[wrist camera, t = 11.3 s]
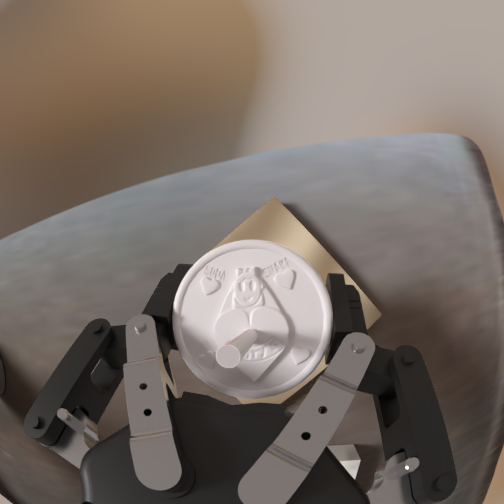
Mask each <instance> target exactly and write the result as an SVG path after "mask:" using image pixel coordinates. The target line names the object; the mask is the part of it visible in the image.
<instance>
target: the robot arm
mask: <svg viewBox="0 0 504 504" xmlns="http://www.w3.org/2000/svg"><path fill="white" fill-rule="evenodd" d="M192 266H193V265H191V264H178V265H177V267H176V269H175V271H174V272H173V273H168V274H167V275H165V276H164V277H163V278H162V279H161V280H160V282H159V284H158V285H157V288H156V289H155V291H154V294H152V296H151V298H150V300H149V302H148V303H147V305H146V307H145V309H144V311H143V313H142V314H141V315H137V316H135V317H133V318H131V319H130V320H129V321H128V323H127V324H126V325H120V326H111V325H110V323H109V322H108V321H107V320H106V319H101V318H100V319H95V320H93V321H91V322H90V323H89V324H88V325H87V326H86V327H85V329H84V330H83V331H82V333H81V334H80V335H79V337H78V338H77V339H76V341H75V342H74V344H73V345H72V346H71V348H70V349H69V351H68V352H67V353H66V355H65V356H64V358H63V359H62V360H61V362H60V363H59V365H58V366H57V368H56V369H55V371H54V372H53V374H52V375H51V377H50V378H49V380H48V381H47V383H46V384H45V386H44V387H43V389H42V390H41V392H40V394H39V395H38V397H37V398H36V400H35V402H34V403H33V405H32V407H31V408H30V410H29V411H28V413H27V415H26V417H25V420H24V427H25V431H26V432H27V434H28V435H29V436H30V437H32V438H33V439H35V440H37V441H38V442H39V443H40V444H42V445H43V446H45V447H46V448H48V449H50V450H51V451H53V452H55V453H56V454H59V455H61V456H62V457H63V458H65V459H66V460H67V461H69V462H70V463H72V464H73V465H75V466H76V467H77V468H79V469H80V477H81V482H82V490H83V499H82V504H431V503H435V502H439V501H442V500H444V499H446V498H448V497H449V496H450V495H451V494H452V492H453V491H454V489H455V487H456V483H457V475H456V470H455V465H454V460H453V456H452V451H451V447H450V443H449V439H448V435H447V431H446V427H445V424H444V420H443V417H442V413H441V410H440V407H439V404H438V400H437V397H436V394H435V391H434V388H433V385H432V382H431V379H430V377H429V374H428V371H427V368H426V366H425V363H424V360H423V358H422V355H421V354H420V352H419V351H418V350H417V349H415V348H414V347H411V346H407V345H405V346H400V347H398V348H397V349H396V350H395V351H391V350H387V349H384V348H381V347H379V346H377V345H375V344H374V341H373V340H372V339H371V338H370V337H369V336H368V333H367V328H366V323H365V318H364V313H363V309H362V303H361V299H360V294H359V292H358V290H357V289H356V288H355V286H354V285H346V284H345V279H344V274H340V273H328V274H327V279H326V284H325V286H326V288H327V291H328V294H329V296H330V300H331V304H332V311H333V329H332V335H331V339H330V343H329V346H328V348H327V351H326V353H325V365H328V367H327V369H326V370H325V372H324V373H323V374H321V375H320V377H319V378H318V380H317V381H316V383H315V384H314V386H313V387H312V389H311V390H310V392H309V393H308V395H307V396H306V398H305V399H304V401H303V402H302V404H301V405H300V407H299V408H298V410H297V411H296V412H295V414H293V413H291V412H288V411H285V404H274V403H261V402H258V403H250V404H241V405H230V404H227V403H224V402H222V401H219V400H217V399H214V398H212V397H209V396H207V395H201V394H195V393H190V392H185V391H184V392H183V395H182V398H180V397H179V394H178V391H177V388H176V384H175V380H174V375H173V371H172V366H171V362H170V357H169V353H170V350H171V349H174V350H178V347H177V344H176V341H175V338H174V333H173V326H172V312H173V304H174V300H175V296H176V293H177V290H178V288H179V286H180V284H181V282H182V280H183V278H184V277H185V275H186V273H187V272H188V271H189V269H190V268H191V267H192ZM100 359H101V361H100V362H99V364H98V365H97V367H96V369H95V370H94V372H93V373H92V375H91V372H92V371H93V369H94V367H95V366H96V364H97V363H98V361H99V360H100ZM123 377H124V383H125V393H126V402H127V410H128V417H129V424H128V425H127V426H125V427H124V428H122V429H121V430H119V431H118V432H116V433H114V434H113V435H111V436H110V437H108V438H106V439H105V440H103V441H102V442H100V443H98V444H97V445H96V443H97V442H98V440H99V436H98V427H97V423H98V421H99V420H100V418H101V416H102V414H103V412H104V410H105V409H106V407H107V405H108V403H109V401H110V400H111V398H112V396H113V394H114V392H115V391H116V389H117V387H118V385H119V384H120V382H121V380H122V378H123ZM4 389H5V374H4V368H3V364H2V361H1V358H0V394H2V393H3V392H4ZM357 390H358V391H362V392H365V393H369V394H373V398H374V402H375V407H376V412H377V417H378V422H379V427H380V432H381V438H382V443H383V449H384V455H385V461H384V462H383V463H381V464H380V465H379V466H378V468H377V469H376V471H375V475H374V484H373V486H372V488H371V489H370V490H369V491H368V492H367V493H366V492H365V491H364V489H363V488H362V487H361V486H360V485H359V484H358V483H357V481H356V480H355V479H354V478H353V477H352V476H351V475H350V473H349V472H348V471H347V470H346V469H345V467H344V466H343V465H342V464H341V463H340V462H339V460H338V459H337V458H336V457H335V455H334V454H333V453H332V452H331V451H330V449H329V448H328V447H327V446H326V445H327V444H328V442H329V440H330V439H331V437H332V435H333V434H334V432H335V430H336V429H337V427H338V425H339V423H340V422H341V420H342V418H343V416H344V415H345V413H346V411H347V409H348V407H349V405H350V403H351V401H352V400H353V398H354V396H355V394H356V391H357Z"/></svg>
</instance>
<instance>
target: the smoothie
mask: <svg viewBox="0 0 504 504" xmlns="http://www.w3.org/2000/svg"><path fill="white" fill-rule="evenodd" d="M172 326H173V333H174V338H175V341H176V344H177V347H178V350H179V352H180V354H181V356H182V358H183V360H184V361H185V363H186V364H187V366H188V367H189V368H190V369H191V371H192V372H193V373H194V374H195V375H196V376H197V377H198V378H199V379H200V380H202V381H203V382H204V383H206V384H207V385H209V386H210V387H212V388H213V389H215V390H217V391H219V392H222V393H224V394H227V395H230V396H234V397H239V398H246V399H260V398H267V397H272V396H276V395H279V394H282V393H284V392H287V391H289V390H291V389H292V388H294V387H296V386H297V385H299V384H300V383H302V382H303V381H304V380H305V379H307V378H308V377H309V376H310V375H311V374H312V373H313V371H314V370H315V369H316V368H317V367H318V365H319V364H320V362H321V361H322V359H323V357H324V355H325V353H326V351H327V348H328V346H329V343H330V339H331V335H332V329H333V311H332V304H331V300H330V296H329V294H328V291H327V288H326V286H325V284H324V282H323V280H322V279H321V277H320V275H319V274H318V273H317V271H316V270H315V269H314V268H313V267H312V265H311V264H310V263H309V262H308V261H306V260H305V259H304V258H303V257H302V256H300V255H299V254H298V253H296V252H294V251H293V250H291V249H289V248H287V247H285V246H283V245H280V244H277V243H274V242H269V241H264V240H240V241H235V242H231V243H227V244H224V245H222V246H219V247H217V248H215V249H213V250H212V251H210V252H208V253H207V254H205V255H204V256H203V257H201V258H200V259H199V260H198V261H197V262H196V263H195V264H194V265H193V266H192V267H191V268H190V269H189V271H188V272H187V273H186V275H185V277H184V278H183V280H182V282H181V284H180V286H179V288H178V290H177V293H176V296H175V300H174V304H173V312H172Z"/></svg>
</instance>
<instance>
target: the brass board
mask: <svg viewBox="0 0 504 504" xmlns="http://www.w3.org/2000/svg"><path fill="white" fill-rule="evenodd" d="M240 240H264V241H269V242H274V243H277V244H280V245H283V246H285V247H287V248H289V249H291V250H293V251H294V252H296V253H298V254H299V255H300V256H302V257H303V258H304V259H305V260H306V261H308V262H309V263H310V264H311V265H312V267H313V268H314V269H315V270H316V271H317V273H318V274H319V275H320V277H321V279H322V280H323V282H324V284H326V279H327V274H328V273H340V274H344V279H345V284H346V285H354V286H355V288H356V289H357V290H358V292H359V294H360V299H361V303H362V309H363V313H364V318H365V323H366V328H367V329H368V328H369V327H370V326H371V325H372V324H373V323H374V322H375V321H376V320H377V319H378V318H379V317H380V316H381V315H382V314H381V313H380V312H379V310H378V309H377V308H376V307H375V306H374V304H373V303H372V302H371V301H370V300H369V299H368V297H367V296H366V295H365V294H364V293H363V292H362V290H361V289H360V288H359V287H358V286H357V285H356V283H355V282H354V281H353V280H352V279H351V278H350V277H349V275H348V274H347V273H346V272H345V271H344V270H343V269H342V268H341V266H340V265H339V264H338V263H337V262H336V261H335V260H334V259H333V258H332V257H331V255H330V254H329V253H328V252H327V251H326V250H325V249H324V248H323V247H322V246H321V244H320V243H319V242H318V241H317V240H316V239H315V238H314V237H313V236H312V235H311V234H310V233H309V232H308V231H307V230H306V228H305V227H304V226H303V225H302V224H301V223H300V222H299V221H298V220H297V219H296V218H295V217H294V216H293V215H292V214H291V213H290V212H289V211H288V210H287V209H286V208H285V207H284V206H283V205H282V204H281V202H280V201H279V200H278V199H277V198H276V197H275V196H274V197H273V198H271V199H270V200H269V201H268V202H267V203H265V204H264V205H263V206H262V207H261V208H260V209H258V210H257V211H256V212H255V213H254V214H253V215H251V216H250V217H249V218H248V219H247V220H246V221H244V222H243V223H242V224H241V225H240V226H239V227H237V228H236V229H235V230H234V231H233V232H232V233H230V234H229V235H228V236H227V237H226V238H225V239H224V240H222V241H221V242H220V243H219V244H218V245H217V246H216V247H214V248H213V249H215V248H217V247H219V246H222V245H224V244H227V243H231V242H235V241H240ZM213 249H212V250H213ZM212 250H211V251H212ZM327 366H328V365H325V355H324V357H323V359H322V361H321V362H320V364H319V365H318V367H317V368H316V369H315V370H314V371H313V373H312V374H311V375H310V376H309V377H308V378H307V379H305V380H304V381H303V382H302V383H300V384H299V385H297V386H296V387H294V388H292V389H291V390H289V391H287V392H284V393H282V394H279V395H276V396H272V397H267V398H260V399H246V398H239V397H236V398H237V399H238V400H239V401H240V402H241V403H242V404H250V403H258V402H261V403H274V404H281V403H282V402H283V401H285V400H286V399H287V398H289V397H290V396H291V395H293V394H294V393H295V392H297V391H298V390H299V389H300V388H302V387H303V386H304V385H306V384H307V383H308V382H309V381H310V380H312V379H313V378H314V377H315V376H317V375H318V374H319V373H320V372H321V371H323V370H324V369H325V368H326V367H327Z"/></svg>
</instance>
